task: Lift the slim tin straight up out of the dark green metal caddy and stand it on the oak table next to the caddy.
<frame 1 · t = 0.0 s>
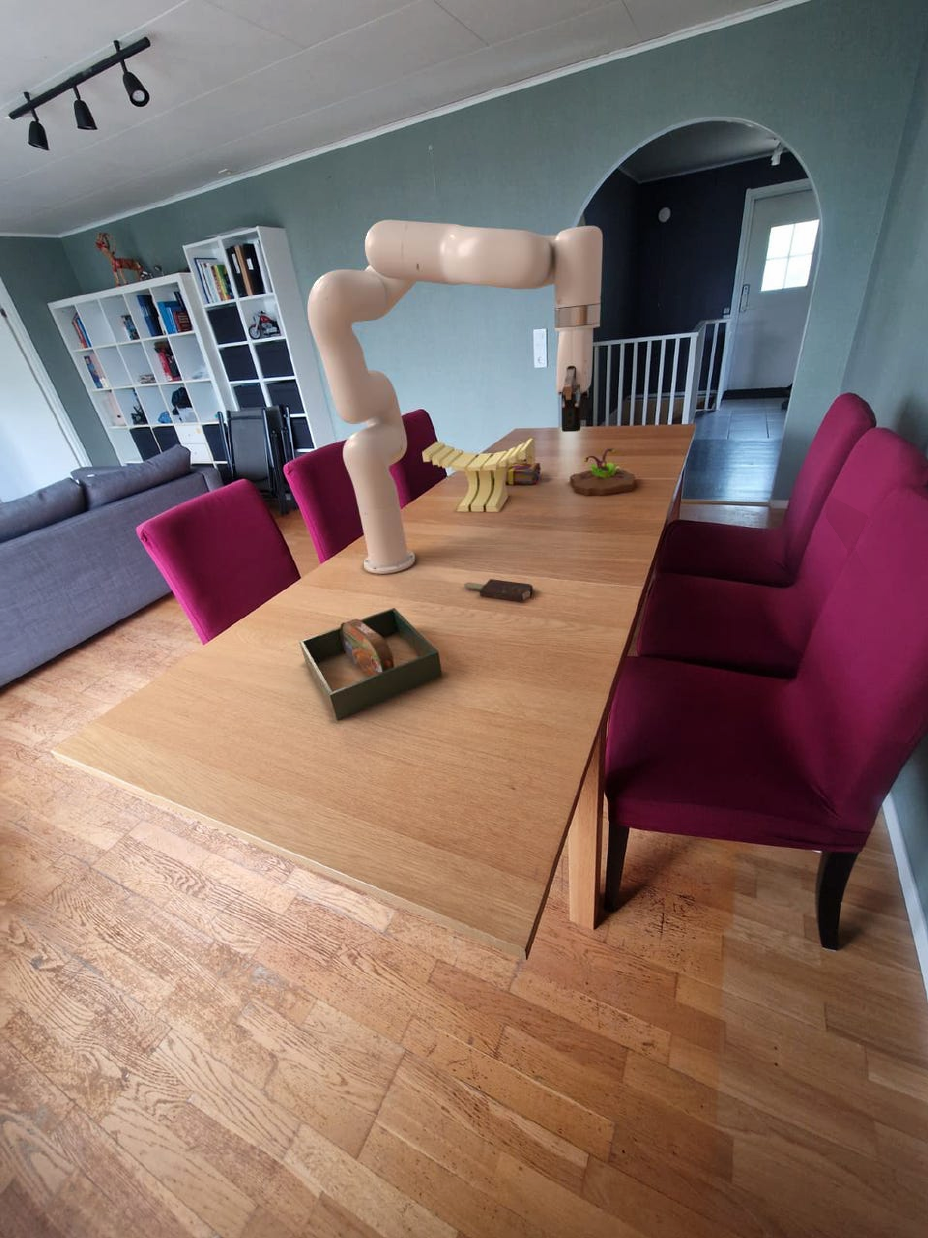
hand: (575, 425, 95), 31 cm above the table, tool pointing down, fingers open, 9 cm apart
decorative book: (517, 480, 176), on the table
caddy: (371, 670, 88), on the table
plant: (603, 485, 162), on the table
tin: (371, 671, 88), resting in caddy
slatted curved stool: (483, 503, 159), on the table
ice cream bar: (496, 593, 108), on the table
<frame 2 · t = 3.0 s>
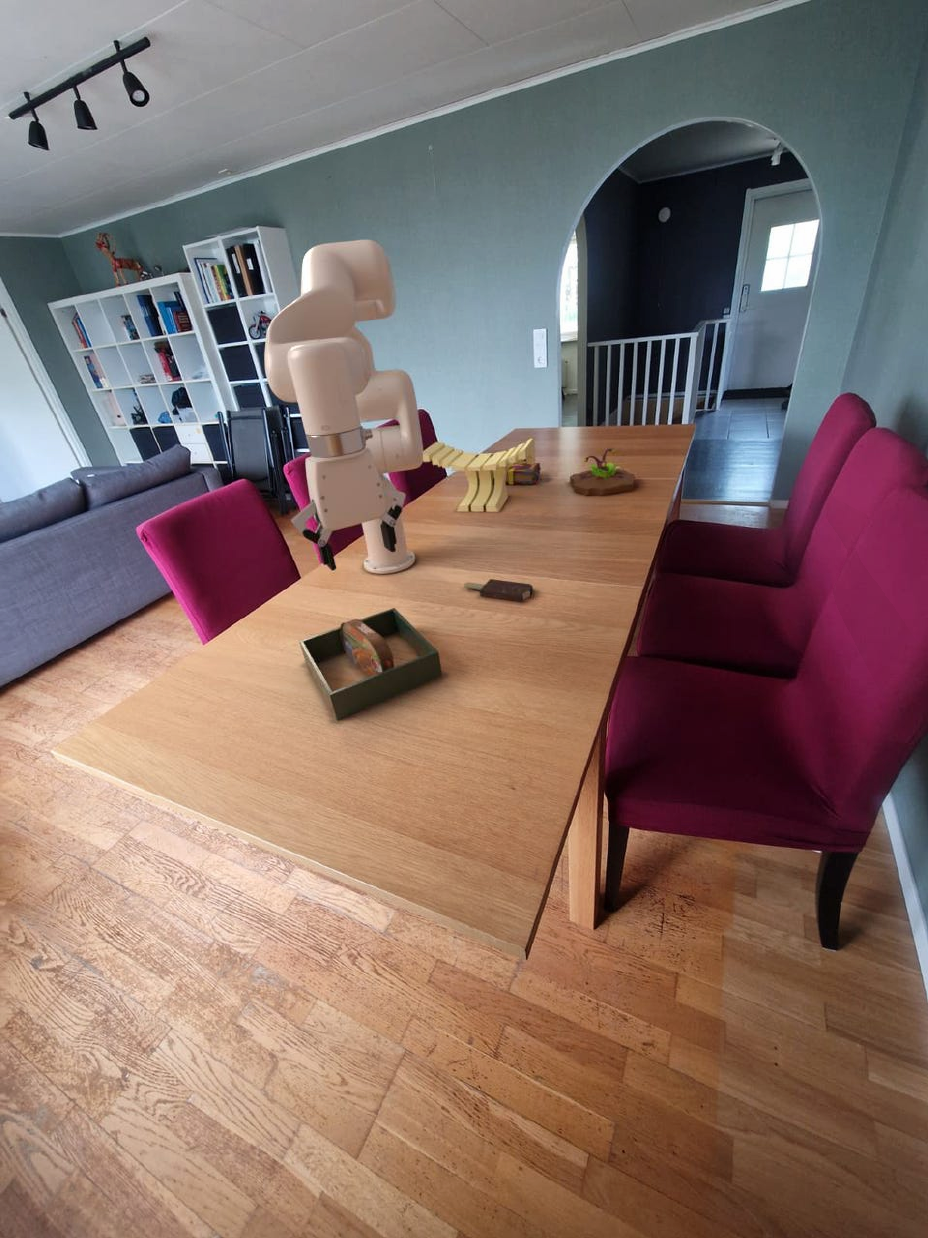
hand: (361, 558, 79), 20 cm above the table, tool pointing down, fingers open, 9 cm apart
nothing on the table moved.
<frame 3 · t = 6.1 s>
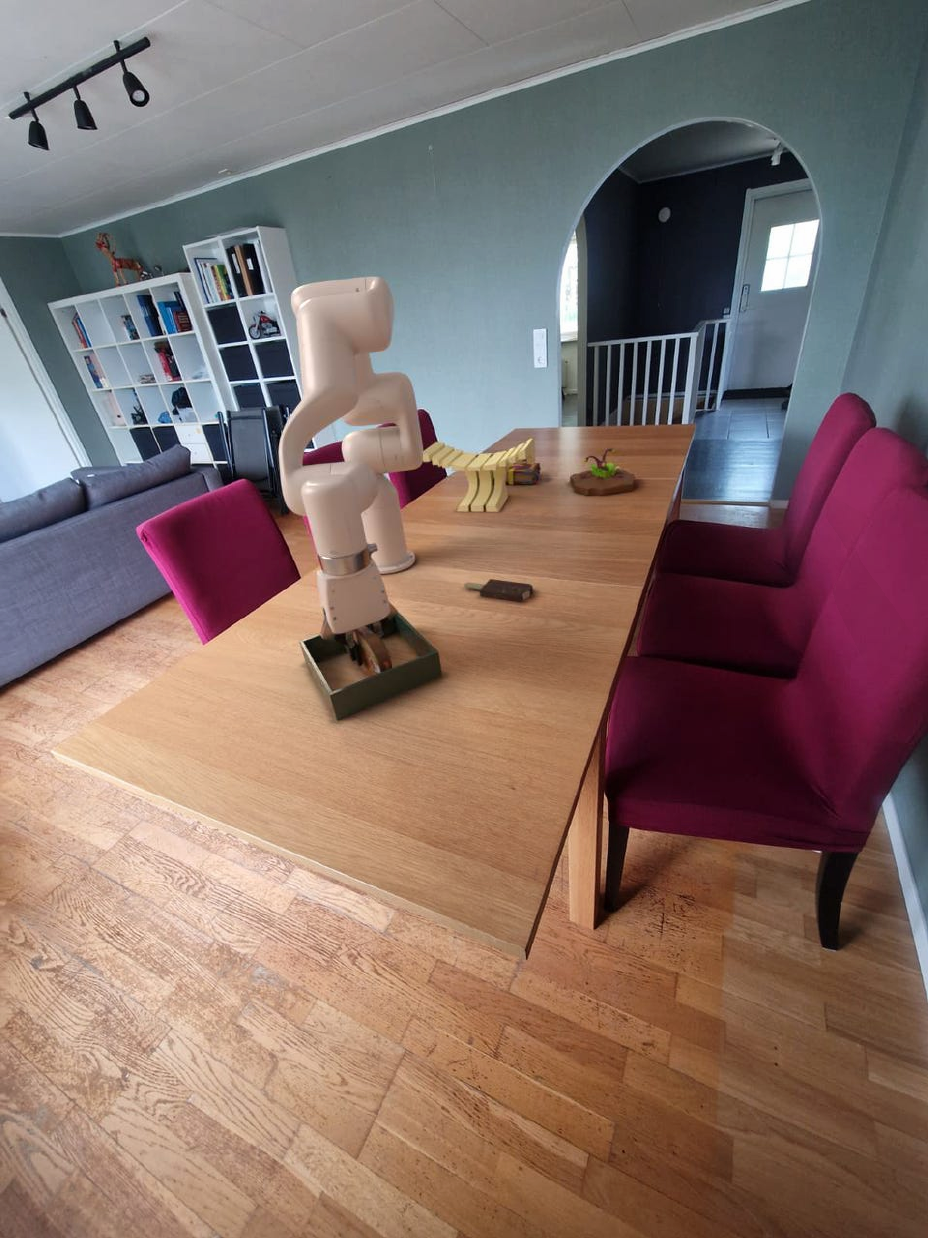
hand: (368, 657, 87), 3 cm above the table, tool pointing down, fingers closed on tin, 3 cm apart
tin: (372, 670, 88), resting in caddy, touching gripper
everything else where it was.
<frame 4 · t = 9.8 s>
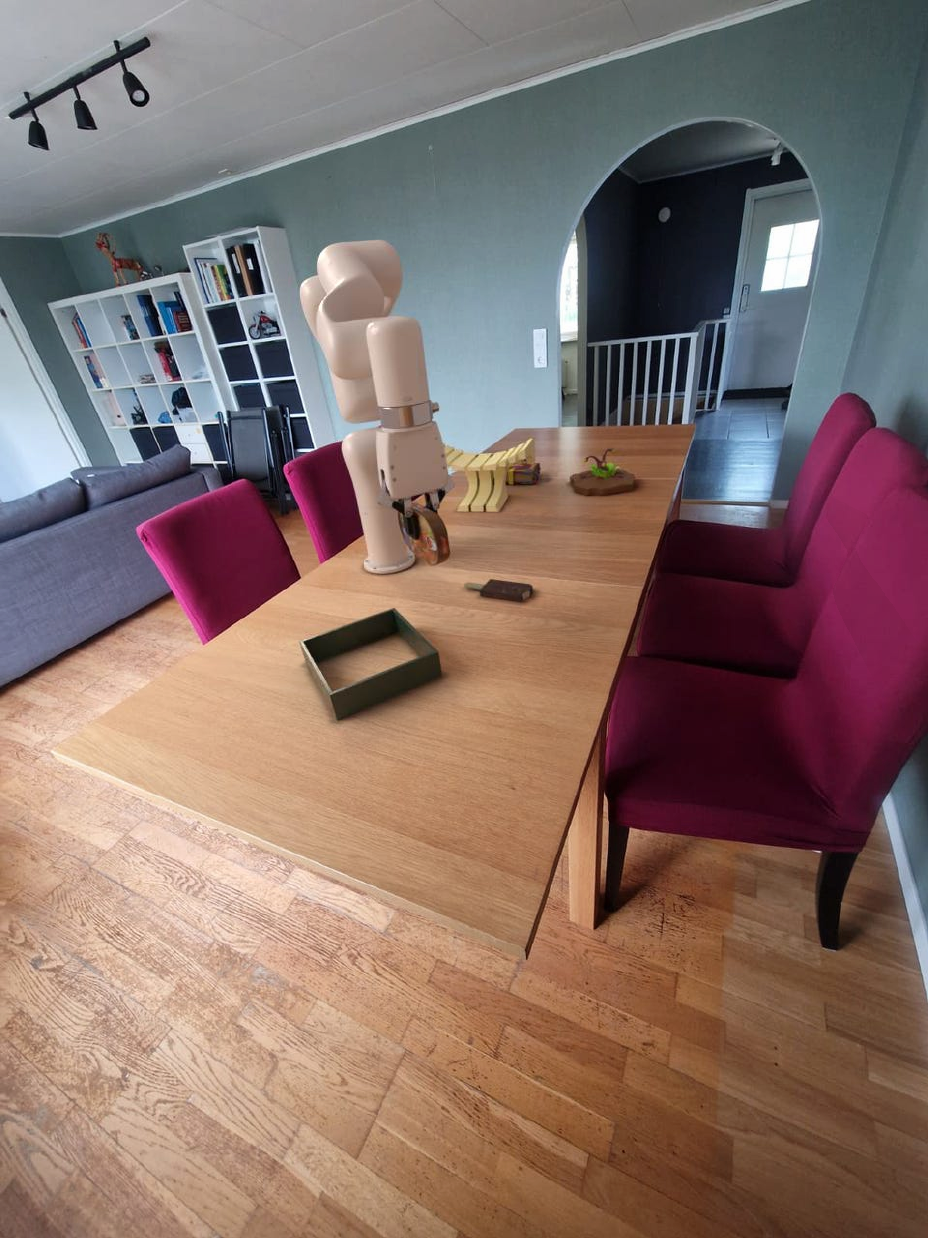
hand: (423, 533, 84), 21 cm above the table, tool pointing down, fingers closed on tin, 2 cm apart
tin: (429, 556, 86), point 17 cm above the table, touching gripper
everything else where it was.
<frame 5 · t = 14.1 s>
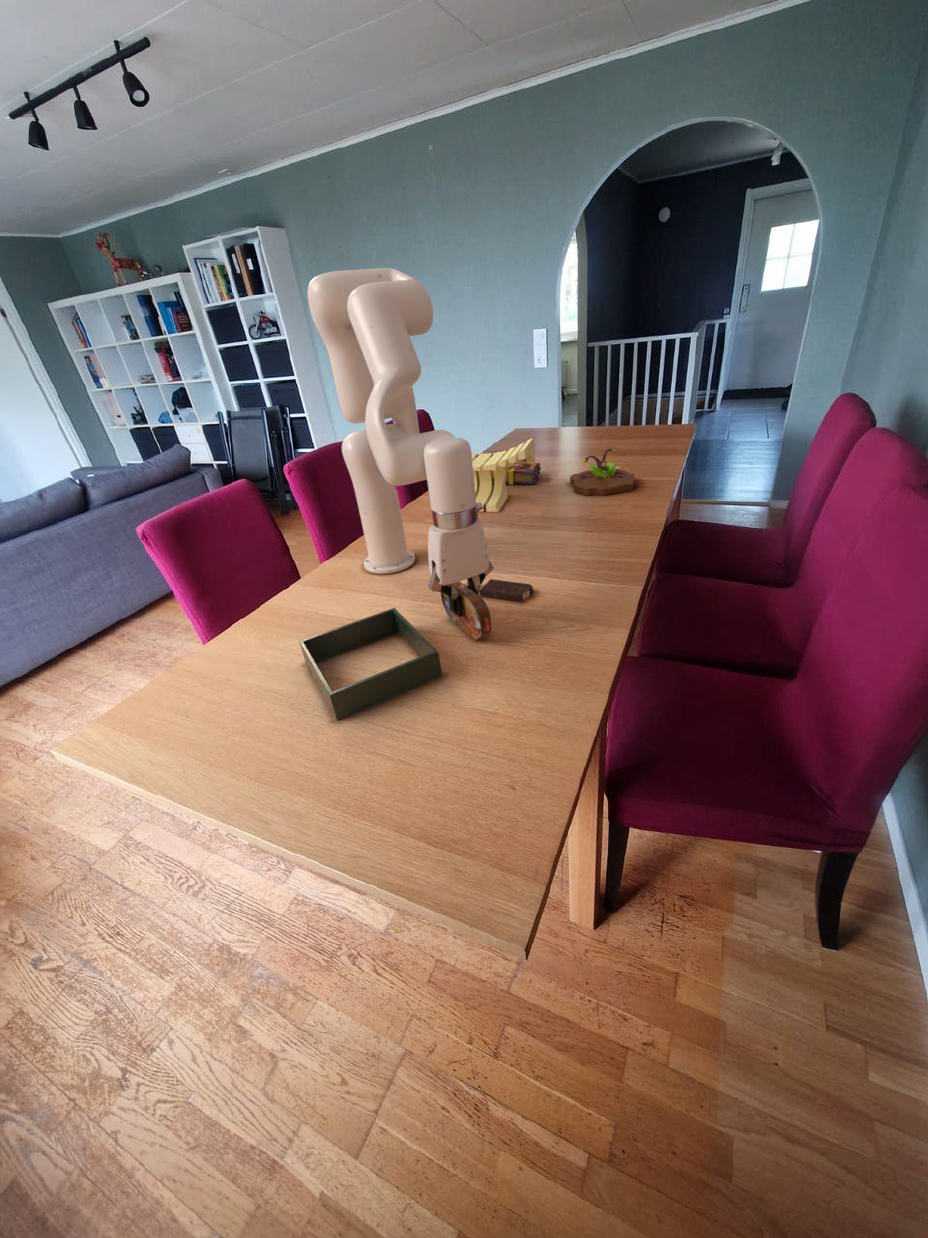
hand: (465, 610, 95), 4 cm above the table, tool pointing down, fingers closed on tin, 2 cm apart
tin: (469, 627, 97), on the table, touching gripper
everything else where it was.
when the fingers open (4 cm above the table, at t = 14.2 s): tin stays where it is, on the table.
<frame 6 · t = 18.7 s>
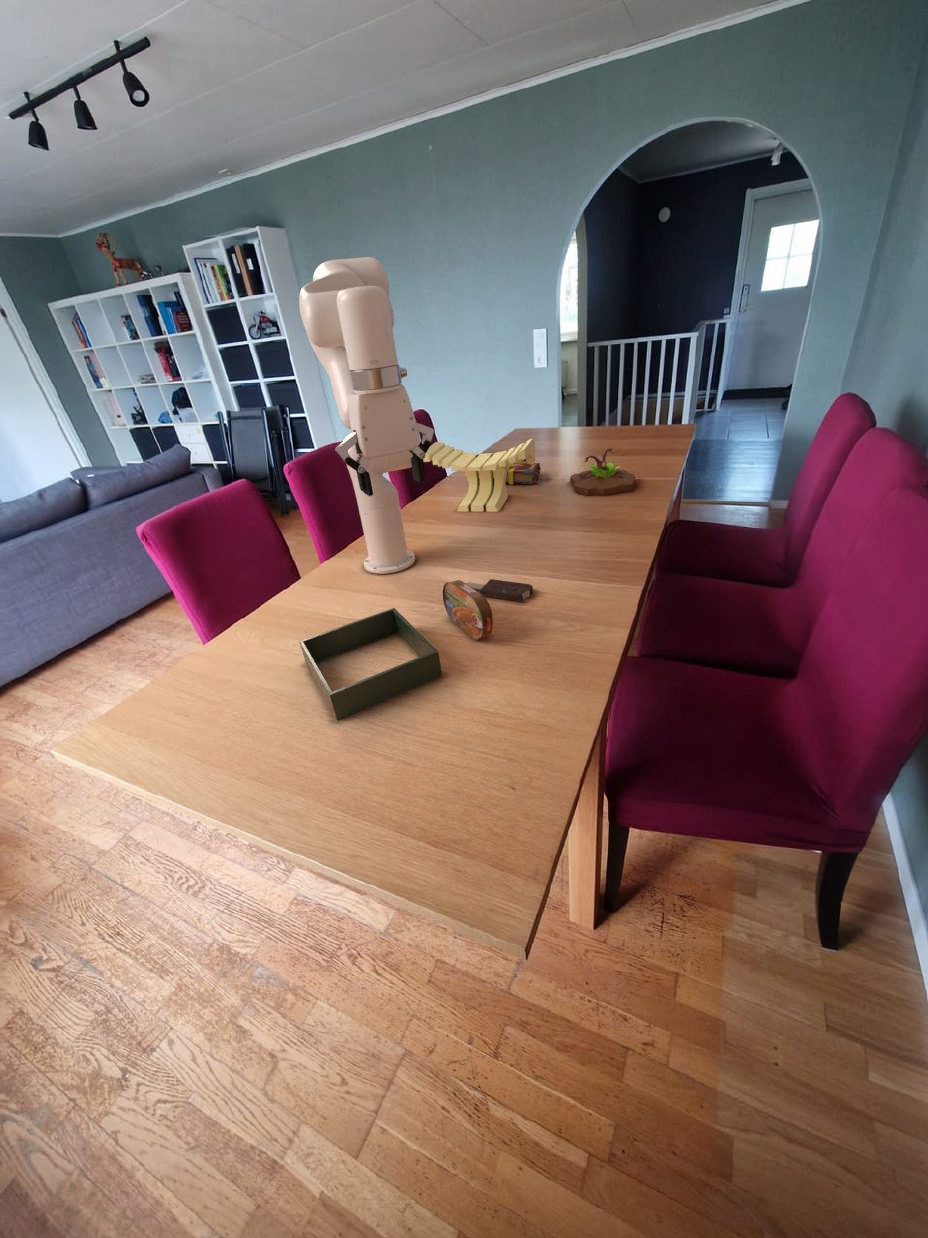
hand: (394, 487, 89), 26 cm above the table, tool pointing down, fingers open, 9 cm apart
tin: (469, 628, 97), on the table
everything else where it was.
at the end: tin inside the target area (0.5 cm from its centre), on the table; tin tilted 0°; tin touching table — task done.
